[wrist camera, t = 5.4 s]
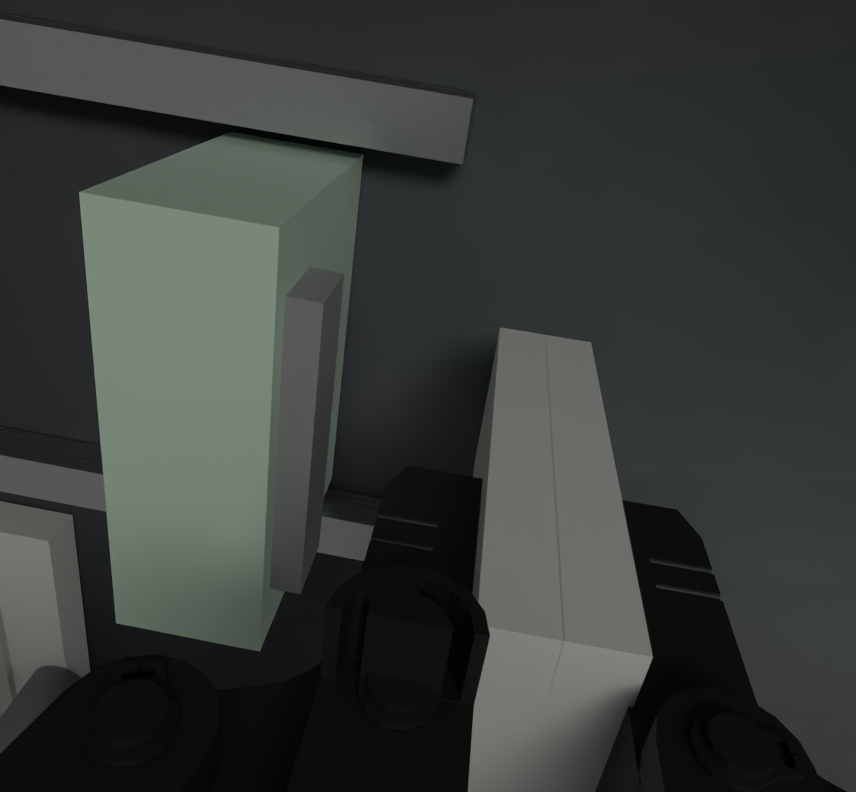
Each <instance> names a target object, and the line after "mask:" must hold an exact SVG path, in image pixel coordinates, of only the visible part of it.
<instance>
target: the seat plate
mask: <svg viewBox="0 0 856 792" xmlns="http://www.w3.org/2000/svg"><path fill="white" fill-rule="evenodd" d="M89 672H90V664H89V655H88V647H87V638H86V629H85V620H84V612H83V603H82V594H81V585H80V576H79V568H78V559H77V550H76V541H75V533H74V524H73V515H70V514H65V513H60V512H55V511H49V510H44V509H39V508H34V507H29V506H23V505H18V504H13V503H8V502H3V501H0V753H1V752H2V751H3V750H4V749H5V748H6V747H7V746H8V745H9V744H10V743H11V742H12V741H13V740H15V739H16V738H17V737H18V736H19V735H20V734H21V733H22V732H23V731H24V730H25V729H26V728H27V727H28V726H29V725H30V724H31V723H32V722H33V721H34V720H35V719H36V718H37V717H38V716H39V715H40V714H41V713H42V712H43V711H44V710H45V709H46V708H47V707H48V706H49V705H50V704H51V703H52V702H53V701H54V700H55V699H56V698H57V697H58V696H59V695H60V694H61V693H62V692H63V691H64V690H66V689H67V688H68V687H70V686H71V685H72V684H74V683H75V682H77V681H78V680H79V679H81V678H82V677H83V676H85V675H86V674H87V673H89Z"/></svg>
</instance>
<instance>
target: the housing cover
mask: <svg viewBox="0 0 856 792" xmlns="http://www.w3.org/2000/svg"><path fill="white" fill-rule="evenodd" d="M362 164H363V154H358V153H352V152H346V151H340V150H335V149H329V148H323V147H317V146H311V145H306V144H300V143H294V142H288V141H282V140H277V139H271V138H265V137H259V136H253V135H247V134H242V133H236V132H229V133H226V134H224V135H221V136H219V137H216V138H214V139H211V140H209V141H206V142H204V143H201V144H199V145H196V146H194V147H191V148H189V149H186V150H184V151H181V152H179V153H176V154H174V155H171V156H169V157H166V158H163V159H161V160H158V161H156V162H153V163H151V164H148V165H146V166H143V167H141V168H138V169H136V170H133V171H131V172H128V173H126V174H123V175H121V176H118V177H116V178H113V179H111V180H108V181H106V182H103V183H101V184H98V185H96V186H93V187H91V188H88V189H86V190H83V191H81V192H79V198H80V209H81V221H82V233H83V244H84V256H85V268H86V279H87V291H88V303H89V314H90V326H91V338H92V349H93V361H94V372H95V384H96V396H97V407H98V419H99V431H100V442H101V454H102V466H103V477H104V489H105V501H106V512H107V524H108V536H109V547H110V559H111V571H112V582H113V594H114V606H115V617H116V623H118V624H123V625H128V626H133V627H138V628H143V629H148V630H153V631H158V632H163V633H168V634H173V635H178V636H183V637H188V638H193V639H198V640H204V641H209V642H214V643H219V644H224V645H229V646H234V647H239V648H244V649H249V650H254V651H259V652H260V650H261V648H262V645H263V643H264V640H265V638H266V635H267V633H268V631H269V628H270V626H271V623H272V621H273V619H274V616H275V614H276V611H277V609H278V607H279V604H280V602H281V599H282V597H283V595H284V592H285V591H286V592H291V593H296V594H301V592H302V589H303V586H304V584H305V581H306V579H307V576H308V573H309V571H310V568H311V566H312V563H313V560H314V558H315V555H316V553H317V550H318V547H319V541H320V530H321V520H322V509H323V498H324V496H325V493H326V491H327V488H328V486H329V484H330V481H331V479H332V471H333V461H334V451H335V441H336V430H337V420H338V410H339V400H340V389H341V379H342V369H343V359H344V348H345V338H346V328H347V318H348V307H349V297H350V287H351V277H352V266H353V256H354V246H355V236H356V225H357V215H358V205H359V195H360V184H361V174H362Z"/></svg>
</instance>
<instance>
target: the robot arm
mask: <svg viewBox="0 0 856 792" xmlns="http://www.w3.org/2000/svg"><path fill="white" fill-rule="evenodd" d="M711 570H712V567H711V564H710V562H709V559H708V556H707V553H706V550H705V547H704V544H703V541H702V538H701V537H700V536H699V535H698V533H697V532H696V531H695V530H694V529H693V528H692V526H691V525H690V524H689V523H688V522H687V521H686V520H685V518H684V517H683V516H682V515H681V514H680V513H679V511H678V510H675V509H670V508H664V507H658V506H652V505H646V504H641V503H635V502H629V501H623V500H622V498H621V493H620V488H619V483H618V478H617V472H616V467H615V462H614V457H613V452H612V447H611V442H610V437H609V432H608V427H607V422H606V417H605V412H604V407H603V401H602V396H601V391H600V386H599V381H598V376H597V371H596V366H595V361H594V356H593V351H592V346H591V342H586V341H580V340H574V339H567V338H561V337H555V336H549V335H543V334H537V333H531V332H525V331H519V330H513V329H506V328H500V330H499V336H498V341H497V346H496V351H495V357H494V362H493V367H492V372H491V378H490V383H489V388H488V394H487V399H486V404H485V409H484V415H483V420H482V425H481V431H480V436H479V441H478V446H477V452H476V457H475V462H474V470H473V477H469V476H464V475H458V474H452V473H446V472H440V471H435V470H429V469H423V468H417V467H412V466H407V467H406V468H405V469H404V470H403V471H402V472H401V473H400V474H399V475H397V476H396V477H395V478H394V479H393V480H392V481H391V482H390V483H389V484H387V485H386V487H385V491H384V494H383V498H382V501H381V505H380V508H379V511H378V516H377V518H376V522H375V525H374V528H373V532H372V535H371V541H370V542H369V546H368V549H367V552H366V556H365V559H364V563H363V566H362V570H361V572H360V573H358V574H357V575H355V576H354V577H352V578H351V579H349V580H348V581H346V582H345V583H343V584H342V585H340V586H339V588H338V589H337V591H336V593H335V594H334V596H333V597H332V599H331V601H330V602H329V604H328V605H327V607H326V619H325V631H324V644H323V656H322V662H321V663H319V664H318V665H316V666H315V667H313V668H312V669H311V670H309V671H308V672H306V673H304V674H301V675H299V676H297V677H294V678H292V679H290V680H287V681H284V682H279V683H274V684H269V685H264V686H255V687H246V688H236V689H227V690H217V691H215V689H214V687H213V685H212V683H211V682H210V680H209V678H208V676H207V675H205V674H204V673H202V672H201V671H200V670H198V669H197V668H195V667H194V666H192V665H191V664H190V663H188V662H187V661H184V660H179V659H175V658H171V657H166V656H162V655H146V656H135V657H125V658H122V659H119V660H117V661H114V662H112V663H109V664H106V665H104V666H101V667H99V668H96V669H93V670H91V671H90V672H89V673H87V674H86V675H85V676H83V677H82V678H81V679H79V680H78V681H77V682H75V683H74V684H72V685H71V686H70V687H68V688H67V689H66V690H64V691H63V692H62V693H61V694H60V695H59V696H58V697H57V698H56V699H55V700H54V701H53V702H52V703H51V704H50V705H49V706H48V707H47V708H46V709H45V710H44V711H43V712H42V713H41V714H40V715H39V716H38V717H37V718H36V719H35V720H34V721H33V722H32V723H31V724H30V725H29V726H28V727H27V728H26V729H25V730H24V731H23V732H22V733H21V734H20V735H19V736H18V737H17V738H16V739H15V740H13V741H12V742H11V743H10V744H9V745H8V746H7V747H6V748H5V749H4V750H3V751H2V752H1V753H0V792H846V791H844V790H843V789H841V788H839V787H837V786H835V785H834V784H832V783H830V782H828V781H826V780H825V779H823V778H821V777H820V776H819V775H817V772H816V770H815V768H814V766H813V764H812V762H811V761H810V759H809V757H808V756H807V754H806V752H805V750H804V749H803V747H802V745H801V743H800V742H799V740H798V739H797V738H796V737H795V736H794V735H793V734H792V733H791V732H790V731H789V730H788V729H787V728H786V727H785V726H784V725H783V724H782V723H781V722H780V721H779V720H778V719H777V718H776V717H775V716H773V715H772V714H770V713H769V712H767V711H765V710H764V709H762V708H761V707H759V706H758V705H757V702H756V699H755V696H754V693H753V690H752V687H751V684H750V681H749V678H748V675H747V672H746V669H745V666H744V663H743V660H742V657H741V654H740V651H739V648H738V645H737V642H736V639H735V636H734V633H733V630H732V627H731V624H730V621H729V618H728V615H727V612H726V609H725V606H724V603H723V601H720V591H719V588H718V585H717V582H716V579H715V576H714V575H712V574H711Z"/></svg>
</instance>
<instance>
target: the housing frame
mask: <svg viewBox="0 0 856 792" xmlns="http://www.w3.org/2000/svg"><path fill="white" fill-rule="evenodd" d="M0 85H2V86H8V87H13V88H19V89H25V90H31V91H37V92H43V93H48V94H54V95H60V96H66V97H72V98H77V99H83V100H89V101H95V102H101V103H107V104H112V105H118V106H124V107H130V108H136V109H141V110H147V111H153V112H159V113H165V114H171V115H176V116H182V117H188V118H194V119H200V120H205V121H211V122H217V123H223V124H229V125H235V126H240V127H246V128H252V129H258V130H264V131H269V132H275V133H281V134H287V135H293V136H299V137H304V138H310V139H316V140H322V141H328V142H333V143H339V144H345V145H351V146H357V147H363V148H368V149H374V150H380V151H386V152H392V153H397V154H403V155H409V156H415V157H421V158H427V159H432V160H438V161H444V162H450V163H456V164H462V165H463V162H464V160H465V157H466V155H467V150H468V144H469V138H470V132H471V126H472V119H473V113H474V107H475V101H476V95H477V93H476V92H470V91H464V90H458V89H452V88H446V87H440V86H434V85H428V84H422V83H416V82H410V81H404V80H398V79H392V78H386V77H380V76H374V75H369V74H363V73H357V72H351V71H345V70H339V69H333V68H327V67H321V66H315V65H309V64H303V63H297V62H291V61H285V60H279V59H273V58H267V57H262V56H256V55H250V54H244V53H238V52H232V51H226V50H220V49H214V48H208V47H202V46H196V45H190V44H184V43H178V42H172V41H166V40H160V39H154V38H149V37H143V36H137V35H131V34H125V33H119V32H113V31H107V30H101V29H95V28H89V27H83V26H77V25H71V24H65V23H59V22H53V21H47V20H42V19H36V18H30V17H24V16H18V15H12V14H6V13H0ZM0 491H1V492H7V493H12V494H17V495H22V496H27V497H33V498H38V499H43V500H48V501H53V502H59V503H64V504H69V505H74V506H79V507H85V508H90V509H95V510H100V511H105V512H106V501H105V489H104V477H103V466H102V454H101V445H96V444H91V443H86V442H80V441H75V440H70V439H64V438H59V437H54V436H49V435H43V434H38V433H33V432H27V431H22V430H17V429H11V428H6V427H1V426H0ZM381 501H382V498H376V497H371V496H366V495H361V494H355V493H350V492H345V491H339V490H334V489H329V488H327V491H326V493H325V496H324V498H323V509H322V520H321V530H320V541H319V547H318V550H317V552H319V553H324V554H329V555H334V556H339V557H345V558H350V559H355V560H360V561H364V559H365V556H366V552H367V549H368V546H369V542H370V541H371V535H372V532H373V528H374V525H375V522H376V518H377V516H378V511H379V508H380V505H381Z"/></svg>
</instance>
